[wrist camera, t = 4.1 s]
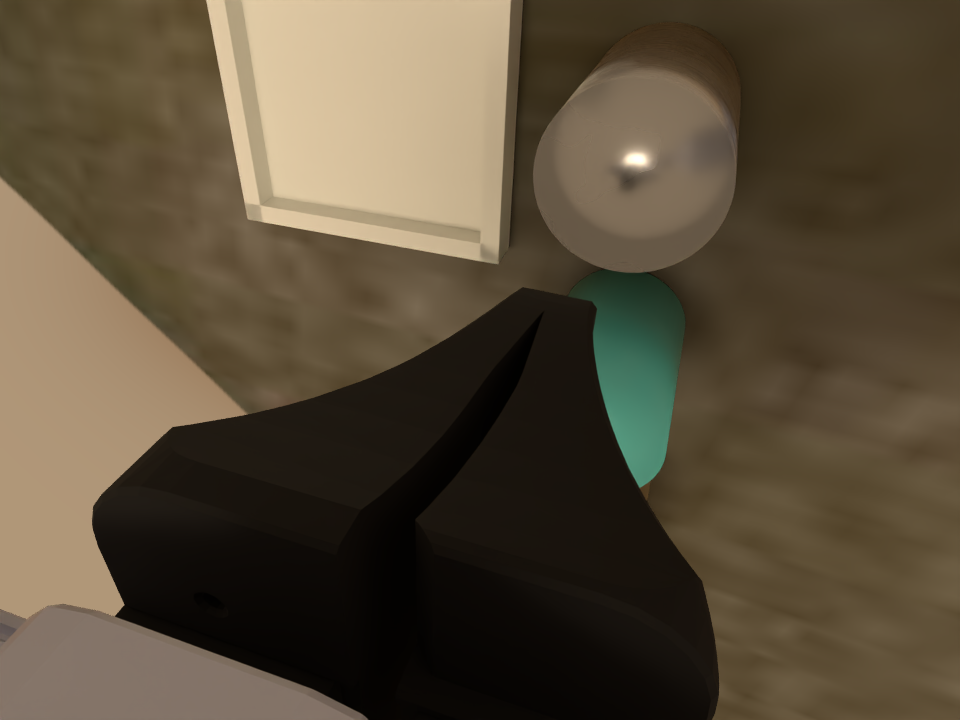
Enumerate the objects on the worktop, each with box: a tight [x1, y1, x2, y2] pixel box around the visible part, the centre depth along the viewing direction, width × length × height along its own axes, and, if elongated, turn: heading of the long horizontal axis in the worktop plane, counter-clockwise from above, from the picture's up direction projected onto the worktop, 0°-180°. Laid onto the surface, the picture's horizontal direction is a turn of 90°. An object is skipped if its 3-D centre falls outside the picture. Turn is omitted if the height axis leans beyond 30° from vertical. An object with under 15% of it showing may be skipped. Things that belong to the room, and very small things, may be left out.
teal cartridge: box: [568, 269, 685, 488], centre depth 20 cm, size 4×4×6 cm
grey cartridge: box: [533, 22, 741, 273], centre depth 16 cm, size 4×4×6 cm
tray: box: [207, 0, 523, 264], centre depth 20 cm, size 9×9×1 cm
